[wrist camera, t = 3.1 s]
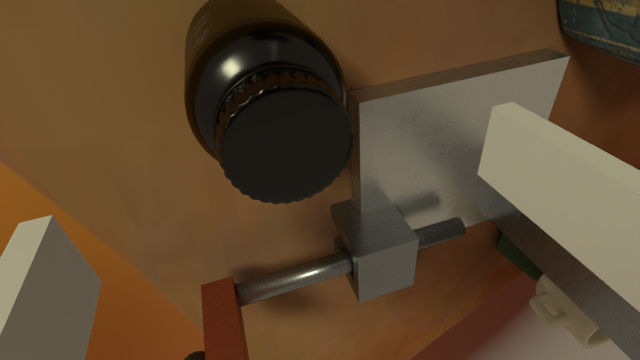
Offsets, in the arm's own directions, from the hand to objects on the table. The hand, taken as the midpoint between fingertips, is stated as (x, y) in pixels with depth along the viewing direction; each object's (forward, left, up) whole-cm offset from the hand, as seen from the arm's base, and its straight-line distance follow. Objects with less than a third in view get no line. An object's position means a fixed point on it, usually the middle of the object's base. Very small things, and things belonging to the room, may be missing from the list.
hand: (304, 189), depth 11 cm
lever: (+17, +3, -11) cm, 20 cm away
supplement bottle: (0, 0, -14) cm, 14 cm away
